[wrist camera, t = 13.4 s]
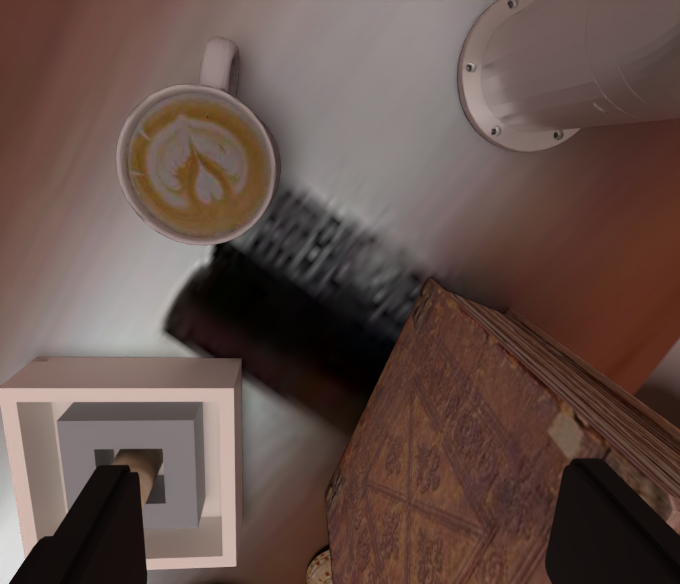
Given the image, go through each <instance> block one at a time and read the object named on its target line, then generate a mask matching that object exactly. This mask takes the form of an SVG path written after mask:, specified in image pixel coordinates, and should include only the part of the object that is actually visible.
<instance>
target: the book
mask: <svg viewBox="0 0 680 584" xmlns="http://www.w3.org/2000/svg"><path fill="white" fill-rule="evenodd" d="M575 458H600V459H602V460H604V461H605V462H606V463H607V464H608V465H609V466H610V467H611V468H612V469H613V470H614V471H615V472H616V473H617V474H618V475H619V476H620V477H621V478H622V479H623V480H624V481H625V482H626V483H627V484H628V485H629V486H630V487H631V488H632V489H633V490H634V491H635V492H636V493H637V494H638V495H639V496H640V497H641V498H642V499H643V500H644V501H645V502H646V503H647V504H648V505H649V506H650V507H651V508H652V509H653V510H654V511H655V512H656V513H657V514H658V515H659V516H660V517H661V518H662V519H663V520H664V521H665V522H666V523H667V524H668V525H669V526H670V527H672V528H673V529H674V530H675V531H676V532H677V533H678V534H679V535H680V430H679V429H678V428H677V427H675V426H674V425H673V424H671V423H670V422H668V421H667V420H666V419H664V418H663V417H661V416H660V415H659V414H657V413H656V412H654V411H653V410H652V409H650V408H649V407H648V406H646V405H645V404H643V403H642V402H641V401H639V400H638V399H637V398H635V397H634V396H632V395H631V394H630V393H628V392H627V391H625V390H624V389H623V388H621V387H620V386H619V385H617V384H616V383H614V382H613V381H612V380H610V379H609V378H607V377H606V376H605V375H603V374H602V373H601V372H599V371H598V370H596V369H595V368H594V367H592V366H591V365H589V364H588V363H587V362H585V361H584V360H583V359H581V358H580V357H578V356H577V355H576V354H574V353H573V352H571V351H570V350H569V349H567V348H566V347H565V346H563V345H562V344H560V343H559V342H558V341H556V340H555V339H553V338H552V337H551V336H549V335H548V334H547V333H545V332H544V331H542V330H541V329H540V328H538V327H537V326H536V325H534V324H533V323H531V322H530V321H529V320H527V319H526V318H524V317H523V316H522V315H520V314H519V313H518V312H516V311H515V310H513V309H511V308H510V309H508V310H507V311H506V313H505V314H503V313H500V312H498V311H495V310H493V309H491V308H488V307H486V306H483V305H481V304H478V303H476V302H473V301H471V300H468V299H466V298H463V297H461V296H458V295H456V294H453V293H451V292H448V291H446V290H444V289H443V288H442V287H441V286H440V285H438V284H437V283H436V282H435V281H434V280H433V279H430V278H428V279H427V280H426V281H425V283H424V285H423V287H422V289H421V291H420V293H419V296H418V298H417V300H416V302H415V304H414V306H413V308H412V310H411V312H410V315H409V317H408V319H407V321H406V323H405V325H404V327H403V329H402V331H401V334H400V336H399V338H398V340H397V342H396V344H395V346H394V348H393V350H392V353H391V355H390V357H389V359H388V361H387V363H386V365H385V367H384V369H383V372H382V374H381V376H380V378H379V380H378V382H377V384H376V386H375V388H374V391H373V393H372V395H371V397H370V399H369V401H368V403H367V405H366V407H365V410H364V412H363V414H362V416H361V418H360V420H359V422H358V424H357V426H356V429H355V431H354V433H353V435H352V437H351V439H350V441H349V443H348V445H347V448H346V450H345V452H344V454H343V456H342V458H341V460H340V462H339V464H338V467H337V469H336V471H335V473H334V475H333V477H332V479H331V481H330V483H329V486H328V488H327V490H326V492H325V506H326V517H327V528H328V539H329V549H330V560H331V571H332V582H333V584H552V583H551V581H550V579H549V577H548V575H547V572H546V568H545V557H546V552H547V547H548V542H549V538H550V533H551V528H552V523H553V518H554V513H555V508H556V503H557V499H558V494H559V489H560V484H561V479H562V474H563V470H564V468H565V466H567V465H570V462H571V461H572V460H573V459H575Z"/></svg>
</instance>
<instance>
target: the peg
mask: <svg viewBox="0 0 680 584" xmlns="http://www.w3.org/2000/svg"><path fill="white" fill-rule="evenodd" d="M162 463H163V449H120V450H119V452H118V453H117V455H116V457H115V458H114V460H113V462H112V464H111V465H128V466H129V467H130V470H131V472H138V474H139V478H140V491H141V503H142V510H143V508H144V506H145V503H146V501H147V499H148V496H149V494H150V492H151V489H152V487H153V485H154V482H155V480H156V477H157V475H158V473H159V470H160V468H161V466H162Z"/></svg>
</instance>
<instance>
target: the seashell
mask: <svg viewBox="0 0 680 584" xmlns="http://www.w3.org/2000/svg"><path fill="white" fill-rule="evenodd" d="M306 580H307V583H308V584H333V582H332V571H331V560H330V549H329V550H327V551H325V552H323V553H321V554H320V555H318V556H317V557H316V558H315V559H314V560H313V561H312V562H311V564H310V565H309V567H308V569H307V573H306Z"/></svg>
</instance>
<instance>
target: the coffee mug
mask: <svg viewBox="0 0 680 584" xmlns="http://www.w3.org/2000/svg"><path fill="white" fill-rule="evenodd" d="M239 64H240V57H239V51H238V47H237V46H236V44H235V43H234V42H233V41H232V40H229V39H226V38H222V37H212V38H211V39H210V40H209V41H208V42H207V44H206V46H205V49H204V53H203V58H202V62H201V68H200V77H199V83H198V84H182V85H175V86H171V87H168V88H165V89H162V90H159V91H157V92H155V93H154V94H152V95H150V96H148V97H147V98H146V99H144V100H143V101H142V102H141V103H140V104H138V105H137V106H136V107H135V109H134V110H133V111H132V112H131V114H130V115H129V116H128V118H127V120H126V121H125V123H124V125H123V127H122V129H121V133H120V136H119V139H118V144H117V151H116V167H117V173H118V178H119V181H120V185H121V188H122V191H123V193H124V195H125V197H126V199H127V201H128V202H129V204H130V205H131V207H132V208H133V210H134V211H135V212H136V213H137V214H138V216H139V217H140V218H141V219H142V220H143V221H144V222H145V223H146V224H148V225H149V226H150V227H151V228H153V229H154V230H155V231H157V232H158V233H160V234H162V235H163V236H165V237H168V238H170V239H172V240H175V241H178V242H182V243H186V244H191V245H215V244H219V243H223V242H227V241H229V240H232V239H234V238H236V237H238V236H240V235H242V234H243V233H245V232H246V231H248V230H249V229H250V228H251V227H252V226H254V225H255V224H256V223H257V222H258V220H259V219H260V218H261V217H262V215H263V214H264V213H265V211H266V209H267V208H268V206H269V204H270V202H271V200H272V198H273V196H274V194H275V192H276V190H277V187H278V184H279V180H280V173H281V162H280V155H279V151H278V147H277V144H276V142H275V140H274V138H273V136H272V134H271V132H270V131H269V129H268V128H267V127H266V125H265V124H264V123H263V122H262V121H261V120H260V119H259V118H258V117H257V116H256V114H255V113H254V112H253V111H252V110H251V109H250V108H249V107H248V106H246V105H245V104H244V103H243V102H241V101H240V100H239V99H237V98H236V94H237V85H238V75H239Z"/></svg>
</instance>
